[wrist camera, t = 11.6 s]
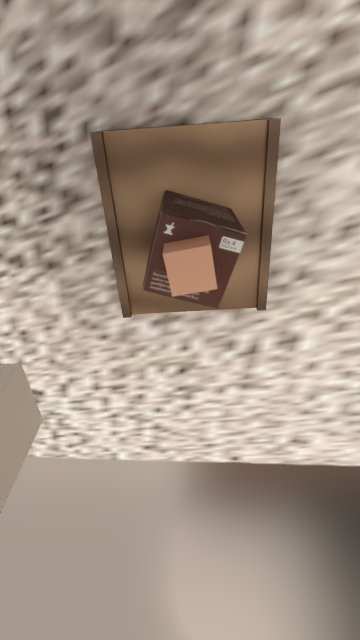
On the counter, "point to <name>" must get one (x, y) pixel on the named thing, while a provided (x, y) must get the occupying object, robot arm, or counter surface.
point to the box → (190, 222)
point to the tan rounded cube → (190, 265)
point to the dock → (195, 181)
